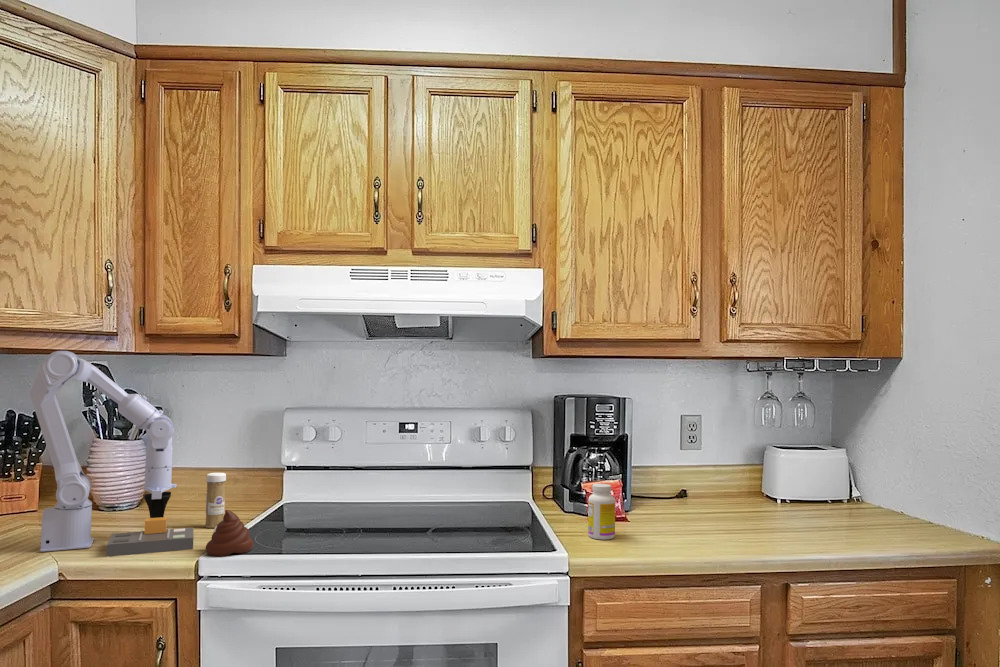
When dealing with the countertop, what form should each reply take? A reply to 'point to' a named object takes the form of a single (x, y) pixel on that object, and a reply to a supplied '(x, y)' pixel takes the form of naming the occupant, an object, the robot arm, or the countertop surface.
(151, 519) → the block
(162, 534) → the grey block
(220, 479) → the sprinkles bottle
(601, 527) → the supplement bottle
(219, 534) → the poop emoji
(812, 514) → the countertop surface
